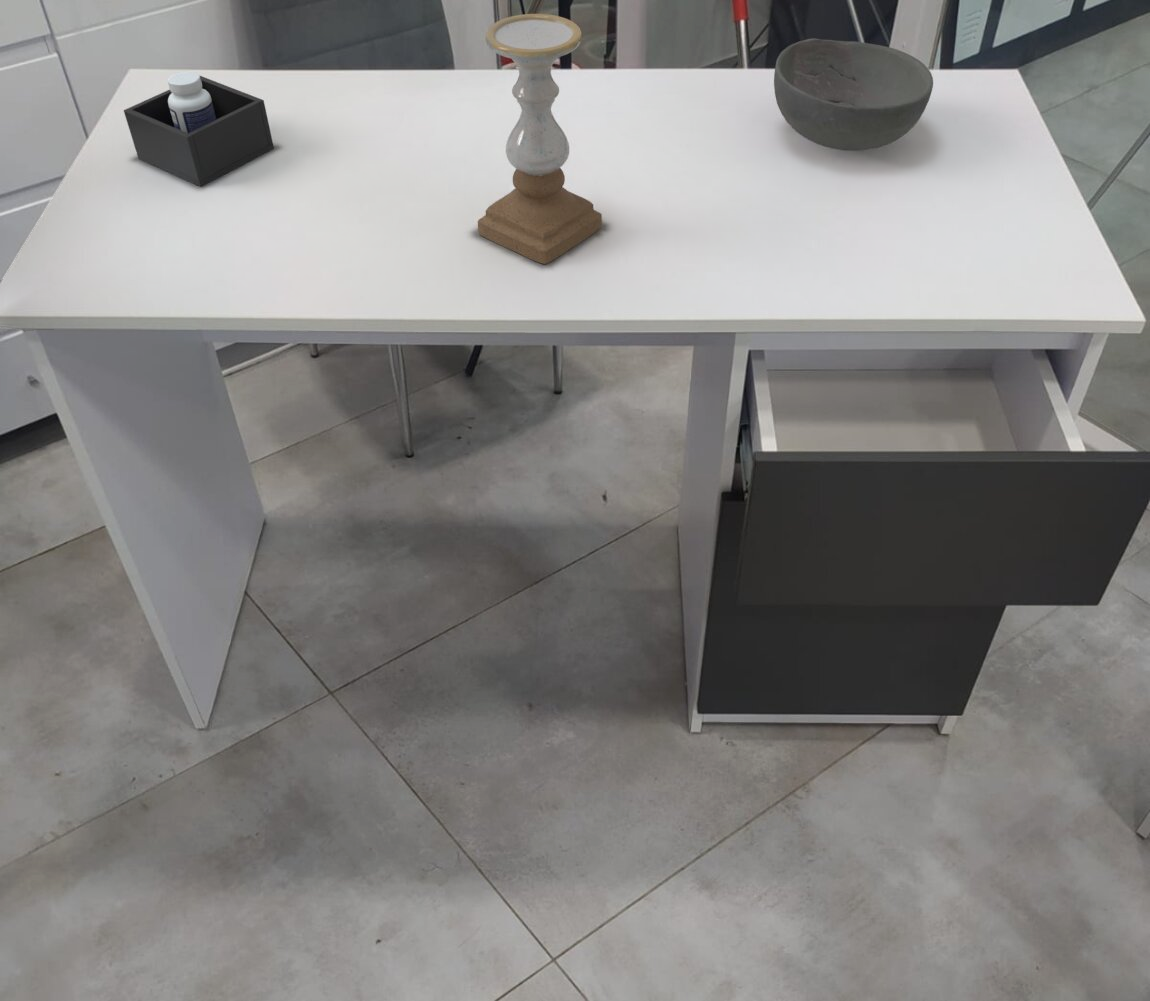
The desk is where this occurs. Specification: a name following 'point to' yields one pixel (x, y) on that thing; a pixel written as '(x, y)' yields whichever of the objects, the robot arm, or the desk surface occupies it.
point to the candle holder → (537, 146)
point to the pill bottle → (189, 102)
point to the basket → (201, 135)
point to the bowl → (850, 92)
